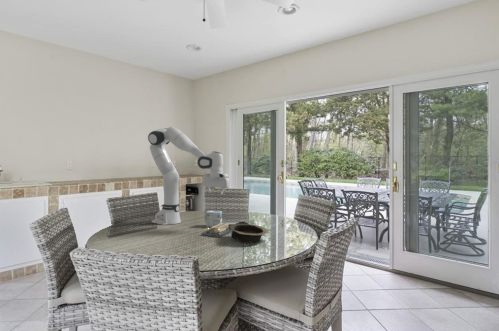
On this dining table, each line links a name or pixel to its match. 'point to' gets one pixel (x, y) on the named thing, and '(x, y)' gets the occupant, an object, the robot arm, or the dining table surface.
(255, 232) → the stone bowl
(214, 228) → the birch board
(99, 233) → the dining table surface
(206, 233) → the chassis
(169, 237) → the dining table surface
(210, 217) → the light bulb box
